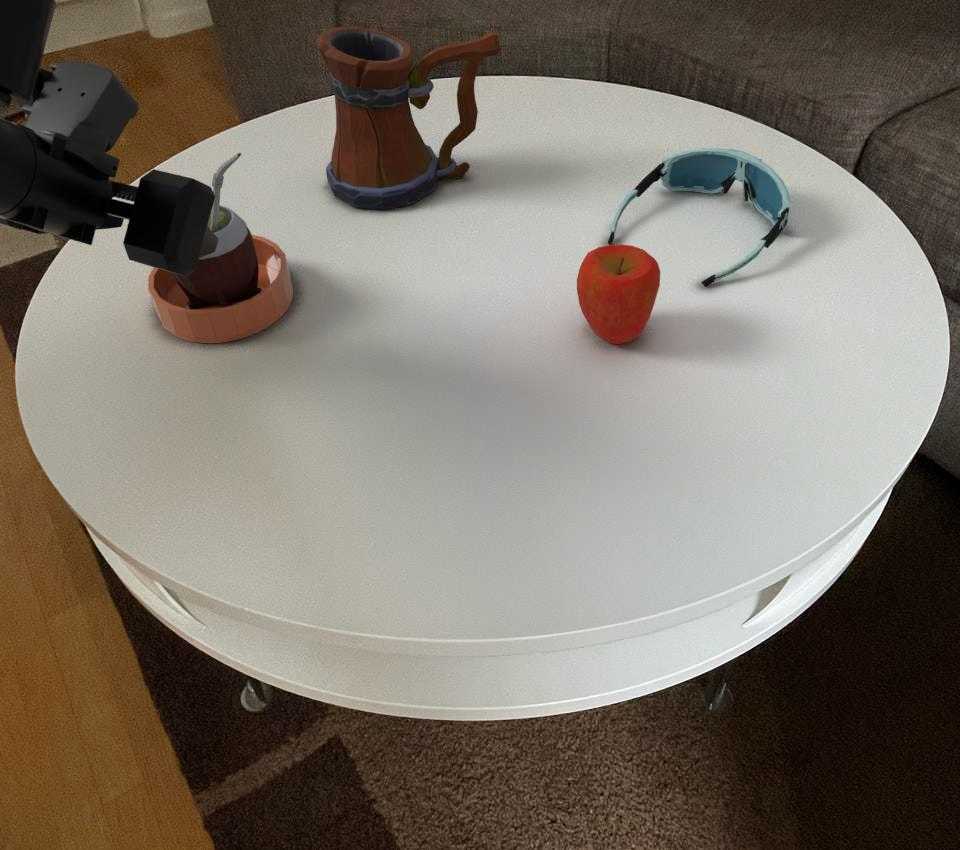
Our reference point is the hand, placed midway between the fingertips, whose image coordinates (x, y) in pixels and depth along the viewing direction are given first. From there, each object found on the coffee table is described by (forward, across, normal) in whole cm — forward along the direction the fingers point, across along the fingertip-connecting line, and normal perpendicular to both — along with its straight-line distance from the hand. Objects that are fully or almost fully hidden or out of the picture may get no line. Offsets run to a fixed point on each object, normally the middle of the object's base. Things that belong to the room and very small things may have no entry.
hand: (167, 232), depth 71 cm
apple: (+16, -33, -2) cm, 36 cm away
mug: (+27, -6, -13) cm, 30 cm away
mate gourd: (+9, -1, +4) cm, 10 cm away
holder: (+9, 0, +4) cm, 10 cm away
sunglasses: (+28, -35, -14) cm, 47 cm away
